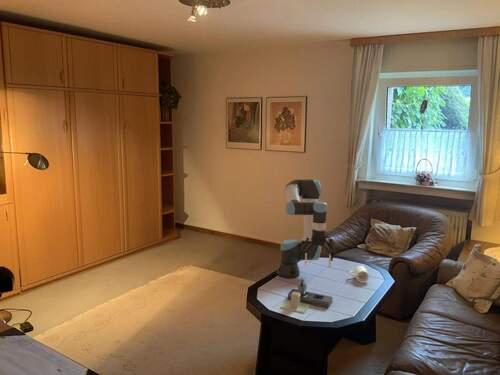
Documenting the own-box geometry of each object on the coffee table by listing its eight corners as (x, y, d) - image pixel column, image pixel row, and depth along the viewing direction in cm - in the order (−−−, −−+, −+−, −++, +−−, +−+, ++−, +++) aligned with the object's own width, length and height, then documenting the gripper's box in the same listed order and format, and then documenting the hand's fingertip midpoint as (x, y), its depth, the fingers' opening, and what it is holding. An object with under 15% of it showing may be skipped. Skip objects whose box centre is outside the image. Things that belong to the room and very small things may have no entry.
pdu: (287, 300, 236) (288, 280, 234) (292, 295, 243) (293, 276, 241) (328, 309, 225) (329, 288, 223) (332, 303, 232) (333, 283, 230)
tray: (280, 308, 225) (280, 306, 225) (286, 301, 234) (286, 299, 234) (304, 314, 219) (304, 312, 219) (310, 306, 228) (310, 304, 228)
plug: (290, 307, 225) (290, 294, 224) (293, 304, 229) (293, 291, 228) (297, 309, 224) (298, 295, 222) (299, 306, 227) (300, 292, 226)
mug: (365, 277, 272) (366, 265, 271) (368, 283, 263) (369, 271, 261) (347, 276, 274) (348, 264, 272) (349, 282, 264) (350, 270, 262)
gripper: (296, 229, 227) (295, 266, 230) (342, 232, 224) (340, 268, 227) (296, 226, 235) (295, 261, 238) (340, 228, 231) (339, 264, 235)
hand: (317, 265), depth 233 cm, fingers open, 13 cm apart
